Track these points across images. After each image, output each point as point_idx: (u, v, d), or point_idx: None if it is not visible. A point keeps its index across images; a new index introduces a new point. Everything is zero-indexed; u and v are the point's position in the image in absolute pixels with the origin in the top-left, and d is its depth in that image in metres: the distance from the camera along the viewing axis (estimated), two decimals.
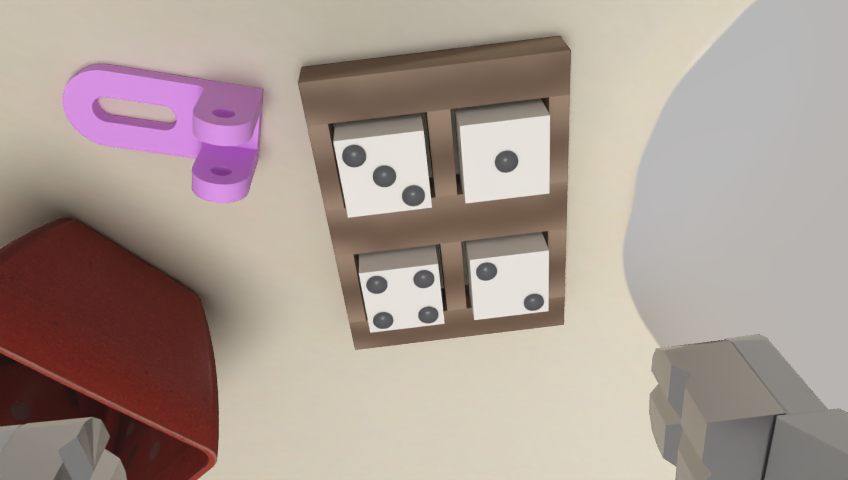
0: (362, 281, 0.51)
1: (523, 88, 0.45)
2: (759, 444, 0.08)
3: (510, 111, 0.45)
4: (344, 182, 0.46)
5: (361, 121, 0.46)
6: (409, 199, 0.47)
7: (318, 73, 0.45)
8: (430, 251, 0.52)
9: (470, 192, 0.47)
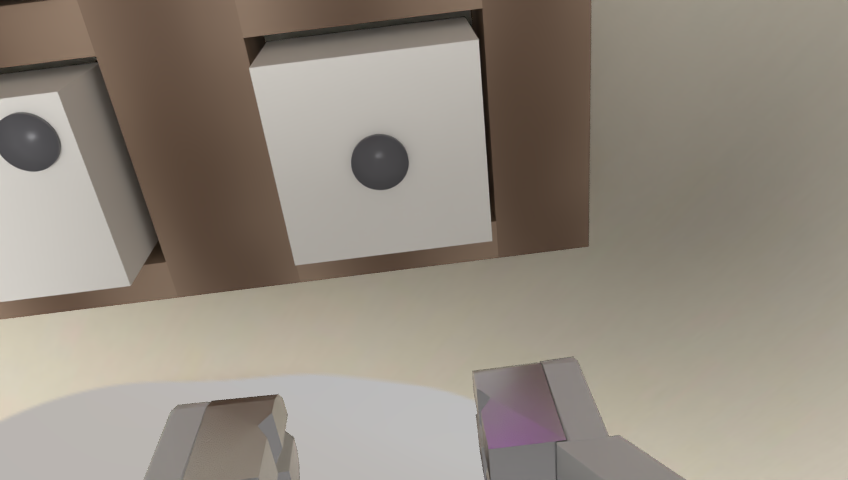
0: None
1: (518, 169, 0.21)
2: (546, 470, 0.08)
3: None
4: None
5: None
6: None
7: None
8: None
9: (284, 79, 0.18)
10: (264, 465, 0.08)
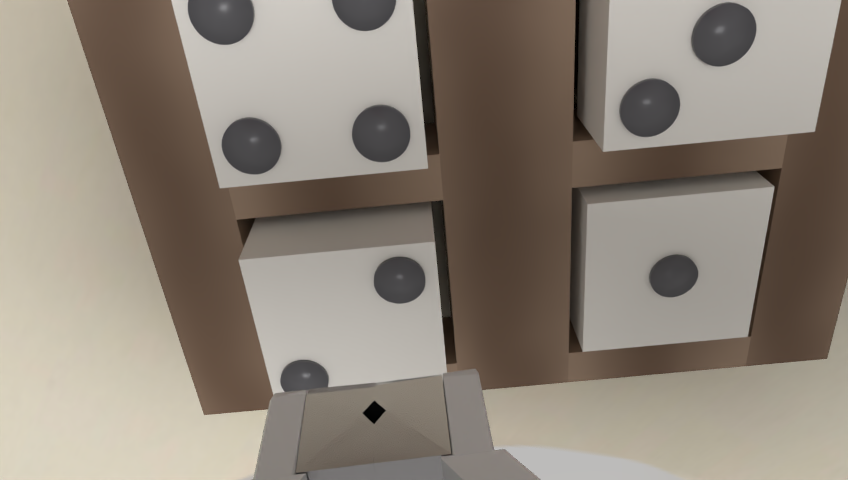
0: None
1: (781, 295, 0.24)
2: None
3: None
4: None
5: None
6: (644, 99, 0.18)
7: None
8: None
9: (613, 213, 0.22)
10: (375, 452, 0.08)
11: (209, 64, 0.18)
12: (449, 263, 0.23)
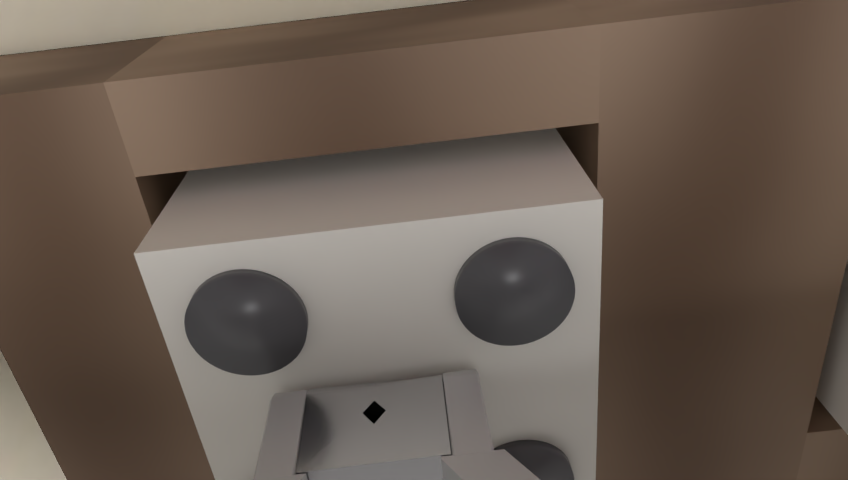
0: (541, 217, 0.09)
1: None
2: None
3: None
4: None
5: None
6: None
7: None
8: None
9: None
10: (375, 452, 0.08)
11: (225, 397, 0.10)
12: None
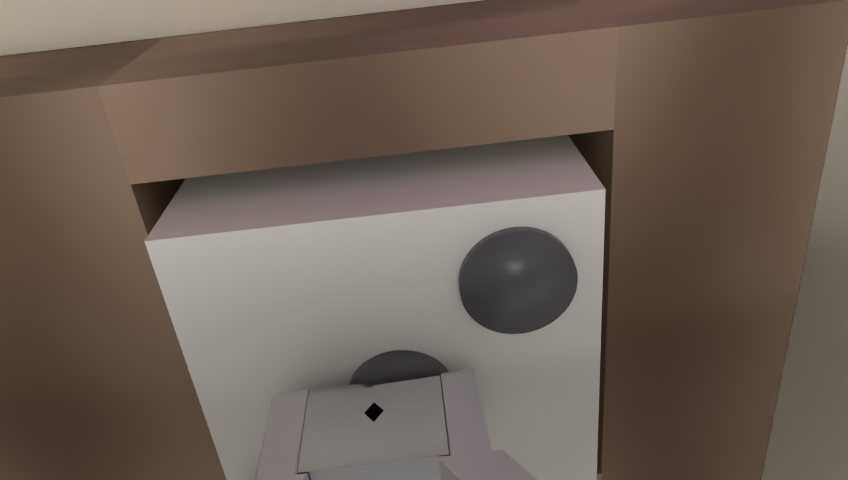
0: None
1: None
2: None
3: None
4: (365, 232, 0.09)
5: None
6: None
7: None
8: None
9: None
10: (376, 451, 0.08)
11: None
12: None
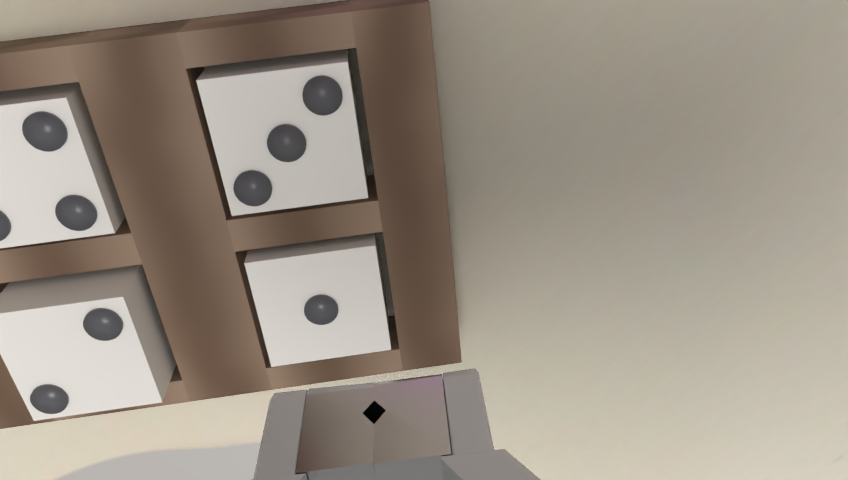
0: (47, 104, 0.26)
1: (411, 318, 0.33)
2: None
3: None
4: (269, 77, 0.27)
5: (353, 89, 0.30)
6: (246, 183, 0.28)
7: None
8: None
9: (264, 268, 0.31)
10: (375, 452, 0.08)
11: None
12: (158, 308, 0.32)
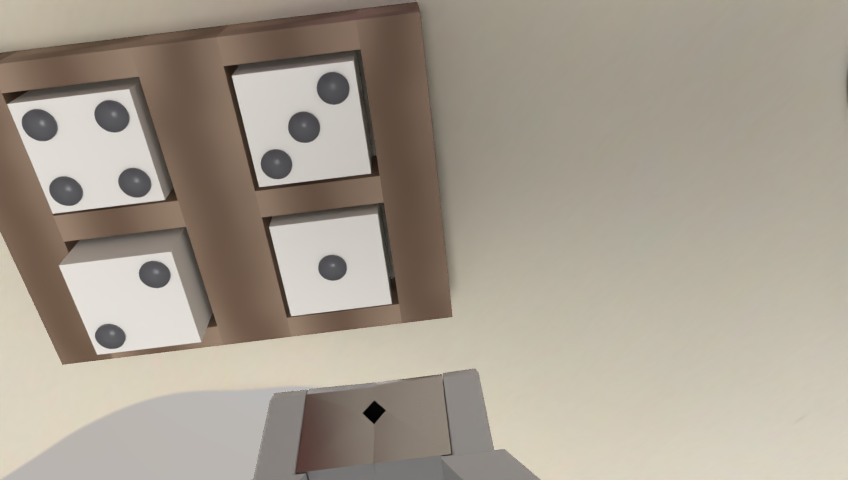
0: (114, 94, 0.33)
1: (409, 277, 0.40)
2: None
3: (386, 257, 0.40)
4: (290, 73, 0.33)
5: (360, 83, 0.36)
6: (271, 160, 0.35)
7: None
8: None
9: (285, 231, 0.37)
10: (375, 451, 0.08)
11: (37, 150, 0.34)
12: (198, 264, 0.38)
